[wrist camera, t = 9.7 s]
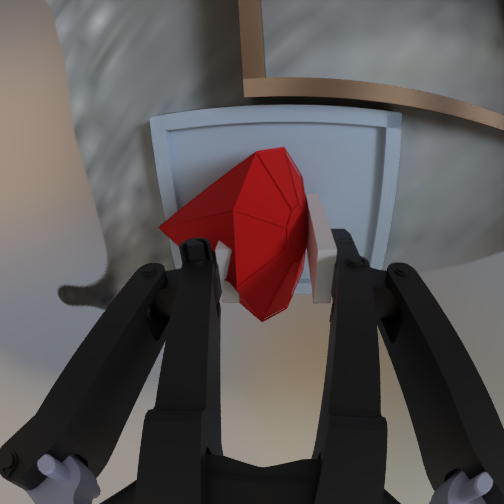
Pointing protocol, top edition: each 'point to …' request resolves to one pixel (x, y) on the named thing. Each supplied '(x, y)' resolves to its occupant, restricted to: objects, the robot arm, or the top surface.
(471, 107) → the frame
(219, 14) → the top surface
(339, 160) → the tray
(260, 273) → the gemstone
